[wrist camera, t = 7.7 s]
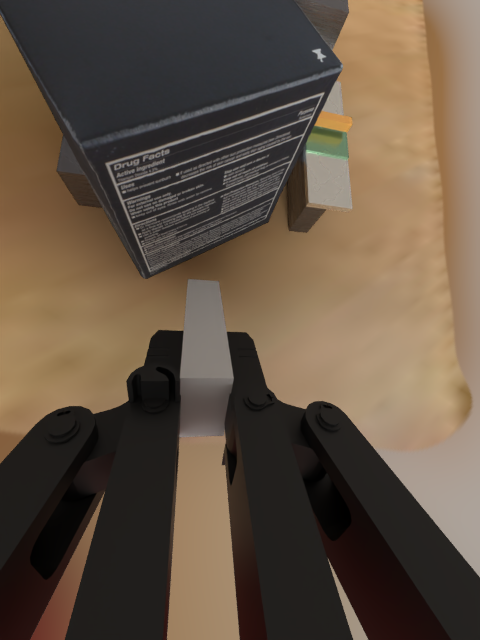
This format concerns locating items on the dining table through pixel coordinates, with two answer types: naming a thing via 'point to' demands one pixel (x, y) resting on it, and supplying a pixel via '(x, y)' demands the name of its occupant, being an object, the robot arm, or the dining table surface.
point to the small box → (178, 109)
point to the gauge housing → (314, 161)
